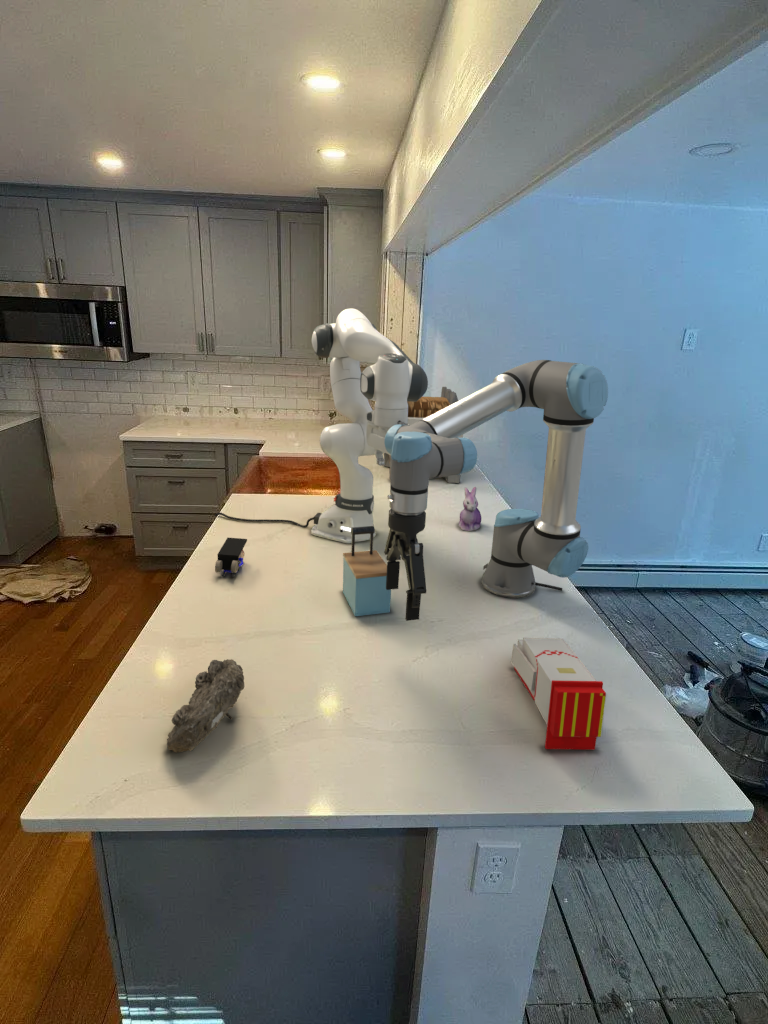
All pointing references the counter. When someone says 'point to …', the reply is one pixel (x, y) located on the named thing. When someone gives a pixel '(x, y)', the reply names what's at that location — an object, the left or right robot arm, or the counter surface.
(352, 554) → the lid
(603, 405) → the right robot arm
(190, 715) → the fossil
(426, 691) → the counter surface
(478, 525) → the figurine
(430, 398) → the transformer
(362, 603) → the chest
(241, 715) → the counter surface
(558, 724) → the toy
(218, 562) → the black toy rover
